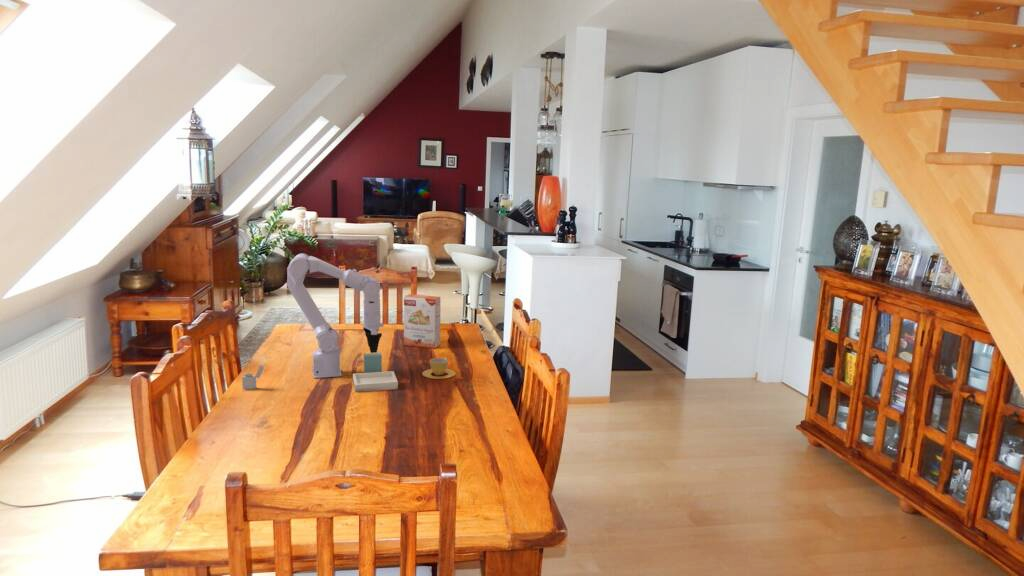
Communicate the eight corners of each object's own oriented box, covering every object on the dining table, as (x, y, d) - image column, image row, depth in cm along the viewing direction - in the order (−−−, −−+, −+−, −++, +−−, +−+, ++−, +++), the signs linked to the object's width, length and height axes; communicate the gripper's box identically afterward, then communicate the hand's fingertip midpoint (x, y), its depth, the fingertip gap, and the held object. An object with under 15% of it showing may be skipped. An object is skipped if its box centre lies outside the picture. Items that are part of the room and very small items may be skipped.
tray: (355, 392, 231) (355, 384, 230) (352, 380, 242) (352, 373, 242) (397, 388, 235) (397, 381, 234) (393, 377, 246) (393, 371, 246)
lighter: (242, 389, 231) (241, 366, 229) (243, 387, 232) (242, 364, 231) (264, 389, 232) (263, 365, 230) (265, 387, 233) (264, 364, 232)
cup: (449, 381, 245) (450, 366, 244) (417, 378, 247) (417, 363, 246) (459, 371, 256) (459, 357, 255) (428, 368, 259) (428, 354, 258)
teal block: (364, 375, 249) (364, 356, 247) (364, 372, 251) (363, 353, 250) (381, 373, 250) (381, 355, 249) (380, 371, 253) (380, 352, 252)
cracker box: (403, 345, 286) (403, 296, 282) (409, 342, 292) (409, 293, 288) (434, 349, 283) (435, 298, 278) (440, 345, 288) (440, 296, 284)
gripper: (385, 316, 241) (386, 354, 243) (381, 307, 254) (381, 343, 257) (364, 317, 239) (365, 355, 241) (361, 308, 252) (362, 344, 255)
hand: (372, 349), depth 249 cm, fingers open, 7 cm apart
